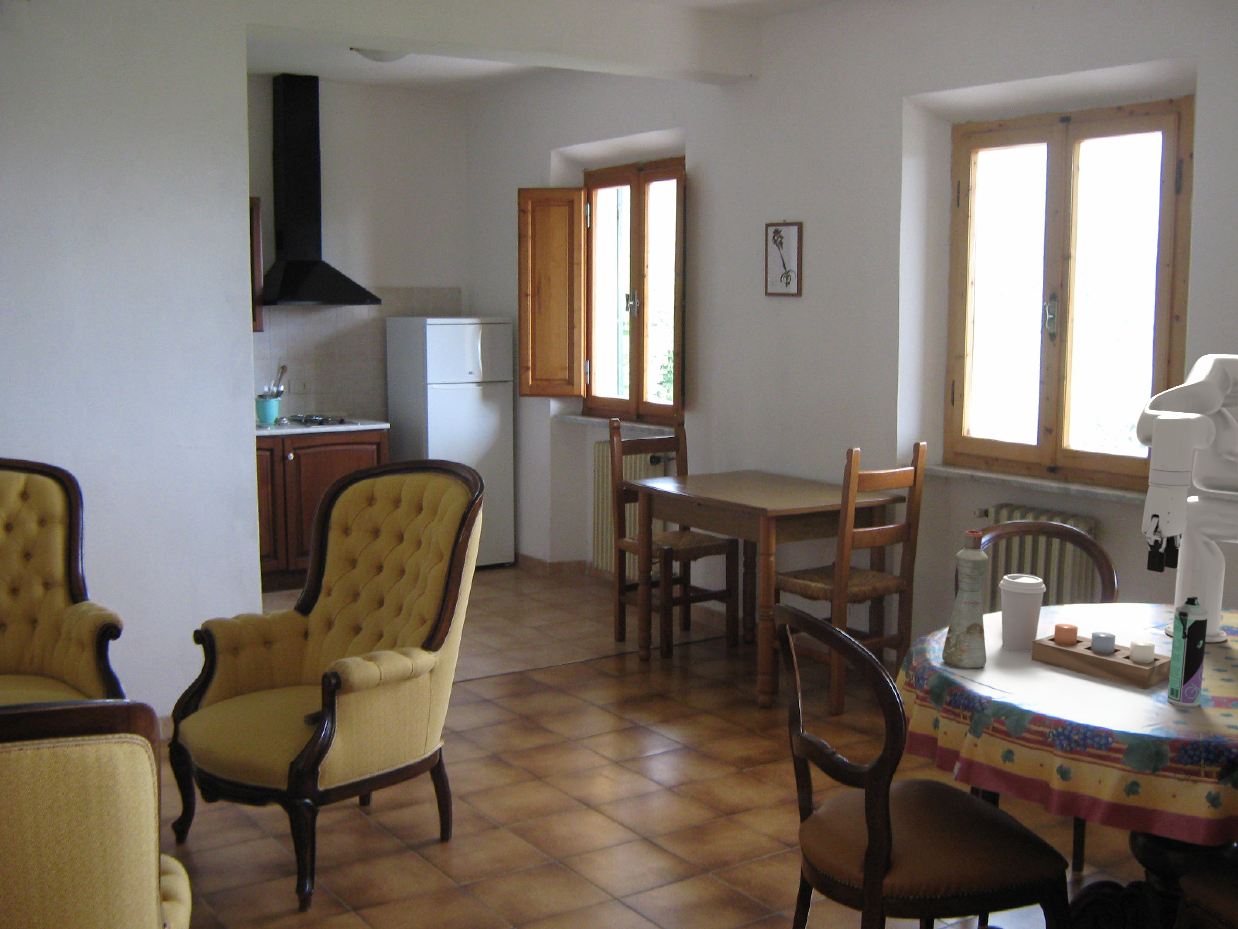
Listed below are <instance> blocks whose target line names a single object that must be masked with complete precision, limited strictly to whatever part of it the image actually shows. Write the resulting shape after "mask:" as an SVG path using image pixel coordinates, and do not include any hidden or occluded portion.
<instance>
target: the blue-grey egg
mask: <svg viewBox="0 0 1238 929" xmlns="http://www.w3.org/2000/svg"><path fill="white" fill-rule="evenodd" d="M1091 639H1092V640H1091V651H1095V652H1099V653H1103V654H1107V655H1110V654H1113V653H1114V647H1115V644H1116V635H1115V634H1113V633H1109V632H1105V631H1104V632H1103V631H1098V632H1097V631H1095V632H1092V633H1091Z"/></svg>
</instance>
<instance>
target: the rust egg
mask: <svg viewBox="0 0 1238 929" xmlns="http://www.w3.org/2000/svg"><path fill="white" fill-rule="evenodd" d="M1078 630H1079V629H1078V626H1076V625H1073V624H1067V623H1057V624H1055V625H1054V634H1053V635H1054V642H1057V643H1061V644H1065V645H1069V646H1072V645H1075V644H1077V636H1078Z"/></svg>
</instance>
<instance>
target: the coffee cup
mask: <svg viewBox="0 0 1238 929" xmlns="http://www.w3.org/2000/svg"><path fill="white" fill-rule="evenodd" d="M1019 574H1020V573H1014V574H1012V573H1011V574H1006V575H1004V576H1003V578H1002V580H1001V581H1000V582H999V584H998V587H999V589H1000V593H1001V594H1000V596H1001V598H1000V599H1001V600H1000V601H1001V602H1000V603H1001V634H1002V636H1001V638H1002V641H1001V642H1002V647H1003V648H1005V649H1007V650H1011V651H1017V652H1019V651H1020V652H1029V651H1030V652H1032V642H1033V641H1035V640H1037V633H1038V626H1039V621H1040V616H1041V609H1042V608H1041V607H1042V602H1043V598H1044V593H1045V592H1046V591H1047V588H1046V585H1045V584H1044V581H1043V579H1042V578H1040V577H1038V576H1036V577H1034V576H1035V575H1034V576H1029V575H1019Z"/></svg>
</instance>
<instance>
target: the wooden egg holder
mask: <svg viewBox="0 0 1238 929" xmlns="http://www.w3.org/2000/svg"><path fill="white" fill-rule="evenodd" d="M1091 640H1092V638H1090V637H1086V636H1081V635H1077V644H1075V645H1072V646H1069V645H1065V644H1061V643H1057V642H1054V634H1051V635H1048V636H1044V637H1042V638H1039V639H1036V640H1035V641H1033V642H1032V650H1031V659H1030V660H1031V661H1033V662H1036V663H1041V664H1044V665H1049V666H1052V667H1057V668H1060V669H1064V670H1067V671H1068V670H1069V671H1072V672H1076V673H1081V674H1085V675H1088V676H1092V677H1095V678H1100V679H1104V680H1108V681H1112V682H1115V683H1119V684H1124V685H1127V686H1132V687H1135V688H1139V689H1143V690H1147V689H1150V688H1152V687H1155V686H1157V685H1160V684H1162V683H1164V682H1167V681H1169V676H1170V664H1171V656H1169V655H1163V654H1159V653H1155V652H1154V662H1153V663H1151V664H1145V663H1141V662H1137V661H1132V660H1129V656H1130V646H1125V645H1121V644H1116V643H1115V647H1114V653H1113V654H1110V655H1107V654H1103V653H1099V652H1095V651H1091Z"/></svg>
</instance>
